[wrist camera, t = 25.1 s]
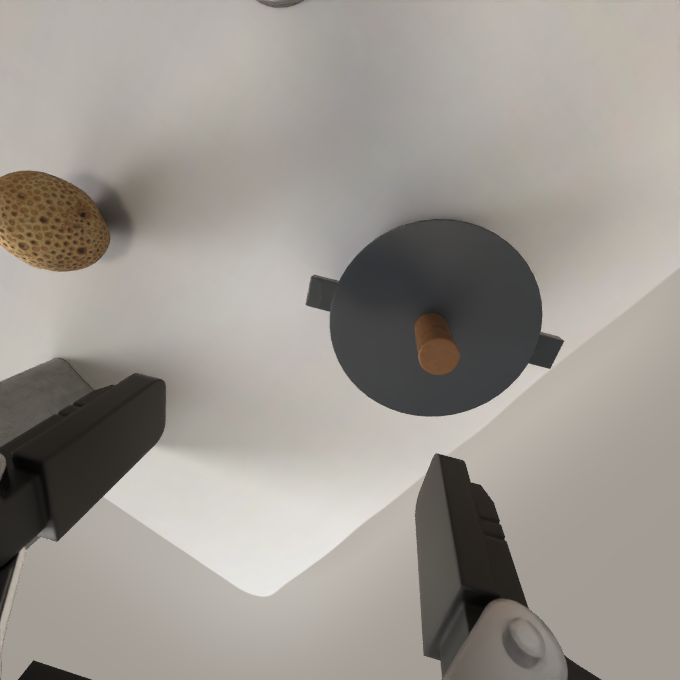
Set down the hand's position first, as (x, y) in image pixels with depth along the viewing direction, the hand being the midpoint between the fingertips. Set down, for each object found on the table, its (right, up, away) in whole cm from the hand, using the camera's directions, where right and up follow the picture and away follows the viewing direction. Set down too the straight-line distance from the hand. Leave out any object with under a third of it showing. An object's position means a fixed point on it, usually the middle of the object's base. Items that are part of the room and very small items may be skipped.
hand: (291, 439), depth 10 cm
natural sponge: (-25, +16, +28) cm, 41 cm away
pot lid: (+8, +4, +16) cm, 18 cm away
